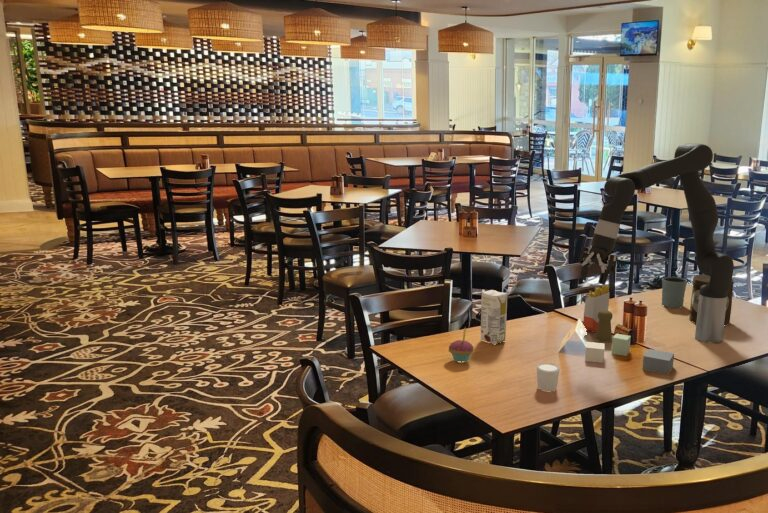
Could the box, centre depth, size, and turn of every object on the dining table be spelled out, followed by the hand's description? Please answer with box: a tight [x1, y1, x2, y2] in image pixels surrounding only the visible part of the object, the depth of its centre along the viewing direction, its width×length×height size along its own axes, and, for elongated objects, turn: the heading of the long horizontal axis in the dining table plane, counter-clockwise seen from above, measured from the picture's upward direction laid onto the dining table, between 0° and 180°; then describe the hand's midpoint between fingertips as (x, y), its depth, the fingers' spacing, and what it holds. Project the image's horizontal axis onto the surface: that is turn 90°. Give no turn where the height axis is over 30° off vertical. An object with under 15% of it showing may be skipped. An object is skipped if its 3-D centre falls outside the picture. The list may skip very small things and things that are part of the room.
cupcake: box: [448, 326, 474, 362], centre depth 220 cm, size 9×8×12 cm
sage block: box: [611, 333, 632, 357], centre depth 227 cm, size 5×5×6 cm
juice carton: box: [480, 289, 508, 345], centre depth 238 cm, size 8×9×19 cm
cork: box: [594, 310, 613, 343], centre depth 241 cm, size 6×6×11 cm
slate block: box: [642, 348, 675, 376], centre depth 213 cm, size 8×8×5 cm
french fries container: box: [582, 285, 610, 334], centre depth 251 cm, size 5×11×18 cm, turn 131°
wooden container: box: [688, 273, 734, 326], centre depth 259 cm, size 15×15×22 cm
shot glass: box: [536, 363, 560, 392], centre depth 198 cm, size 7×7×7 cm
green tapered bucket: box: [661, 276, 688, 309], centre depth 283 cm, size 10×10×12 cm
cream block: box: [584, 341, 606, 364], centre depth 222 cm, size 6×6×5 cm
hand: (591, 280), depth 220 cm, fingers open, 8 cm apart
